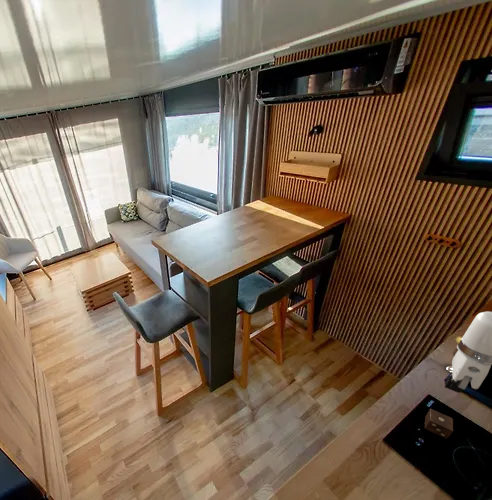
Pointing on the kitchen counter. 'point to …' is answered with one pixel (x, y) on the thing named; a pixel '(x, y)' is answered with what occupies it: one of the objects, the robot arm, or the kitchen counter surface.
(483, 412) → the kitchen counter surface
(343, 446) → the kitchen counter surface
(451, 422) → the die
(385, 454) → the kitchen counter surface
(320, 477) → the kitchen counter surface
